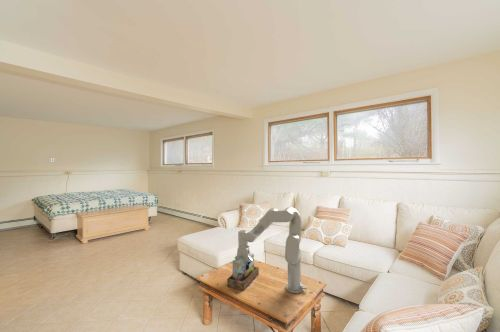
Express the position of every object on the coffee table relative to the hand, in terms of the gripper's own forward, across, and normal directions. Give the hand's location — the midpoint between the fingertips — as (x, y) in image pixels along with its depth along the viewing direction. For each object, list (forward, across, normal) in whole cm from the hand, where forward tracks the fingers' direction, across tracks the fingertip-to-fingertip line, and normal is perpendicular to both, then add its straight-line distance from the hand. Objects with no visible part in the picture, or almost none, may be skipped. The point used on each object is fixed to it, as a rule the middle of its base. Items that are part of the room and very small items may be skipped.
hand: (243, 268), depth 186 cm
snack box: (+6, 0, 0) cm, 6 cm away
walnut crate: (+10, 0, 0) cm, 10 cm away
